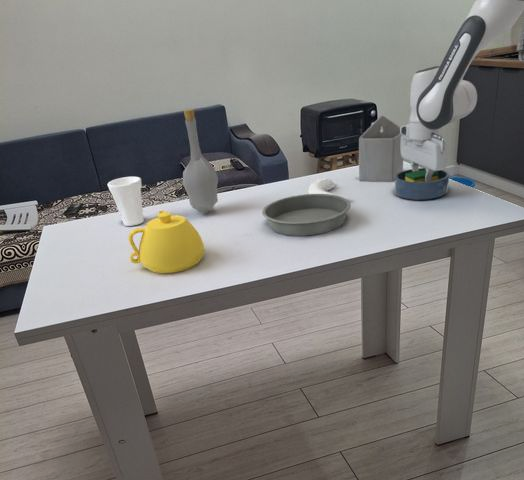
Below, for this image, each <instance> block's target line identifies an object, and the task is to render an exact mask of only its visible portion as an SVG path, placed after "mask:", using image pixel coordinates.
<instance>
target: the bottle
mask: <svg viewBox="0 0 524 480" xmlns="http://www.w3.org/2000/svg"><path fill="white" fill-rule="evenodd" d="M183 113H184V114H183V115H184V118H185V120H184V122H185V126H186V129H187V136H188V141H189V148H190V160H189V162H188V163H187V165H186V166H185V168H184V170H183V172H182V186H183V188H184V190H185V192H186V194H187V198H188V202H189V205H190V206H191V207H192V209H194V210H196V211H198V212H199V213H202V214H207V213H209V212H211V210H212V209H213V208H214V206H215V205H216V204H217V203H218V202H219V199H218V183H219V177H218V173H217V171H216V169H215V167H214V166H213V165H212V164H211V162H210V161H208V160H207V159H206V158H205V157H204V156H203V154H202V151H201V147H200V142H199V137H198V130H197V119H196V117H195V116H196V115H195V109H194V108H188V109H184V110H183Z"/></svg>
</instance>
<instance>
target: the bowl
mask: <svg viewBox="0 0 524 480" xmlns="http://www.w3.org/2000/svg"><path fill="white" fill-rule="evenodd" d="M422 170H426V167H419V171H422ZM411 172H413V171H412V168H410V169H406V170H403V171H402V172H400V173H398V174H397V175H396V176H395V180H394V194H395V195H396V196H397V197H400V198H403V199H406V200H410V201H411V200H413V201H428V200H434V199H436V198H440V197H443V196H445V195H446V194H447V193H448V192H449V182H450V181H449V180H450V174H449V172H448V171H446V170H445V169H444V170H439V171H435V172H438V180H436V181H430V182H409V181H405V174H406V173H411Z"/></svg>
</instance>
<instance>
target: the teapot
mask: <svg viewBox="0 0 524 480" xmlns="http://www.w3.org/2000/svg"><path fill="white" fill-rule="evenodd" d="M139 233H142V234H141V236H140V239H139V245H138V247H137V246H136V244H135V241H134V236H135V235H137V234H139ZM127 239H128V242H129V245H130V247H131V249H132V250H133V252H132V253H131V254H130V255H129V260H130V263H132V264H140V263H141V265H142V266H144V267H145V268H146V269H147V270H149V271H150V272H153V273H156V274H173V273H174V274H175V273H179V272H183V271H186V270H189V269H192V268H194V267H195V266H196V265H198V264H199V262H200V261H201V260H202V258H203V257H204V254H205V251H206V249H205V245H204V242H203V238H202V237H201V235H200V234H199V231H198V230H197V229H196V228H195V227H194V226H193V224H192V223H191V222H190V221H189V220H188V219H187V218H186V217H185V216H182V215H177V214H175V215H173V214H172V212H169V211H165V210H159V211H158V214H157V217H155V218H152V219H151V220H149V221H148V222H147V223H146V225H145V227H136V228H134V229H132V230H131V231H129V234H128V238H127ZM135 256H136V258H134V257H135Z"/></svg>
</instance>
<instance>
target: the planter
mask: <svg viewBox="0 0 524 480" xmlns="http://www.w3.org/2000/svg"><path fill="white" fill-rule="evenodd" d="M400 128H401V126H399V125H398V124H396V122H394V121H392V120H390V119H389V118H388V117H386V116H385V115H380V116H378V118H377V119H376V120H375V121H374V122H373V123H372V124H371V125H370V126H369V127H368V128H367V129H366V130H365V131H364V132H363V133H362V135H360V136H359V138H358V181H359V182H375V183H377V182H379V183H393V182H395V176H396V175H397V174H398V173H400V172H402V171H404V158H402V156H401V152H400V144H401V136H402V134H400ZM381 130H382V131H381Z"/></svg>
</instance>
